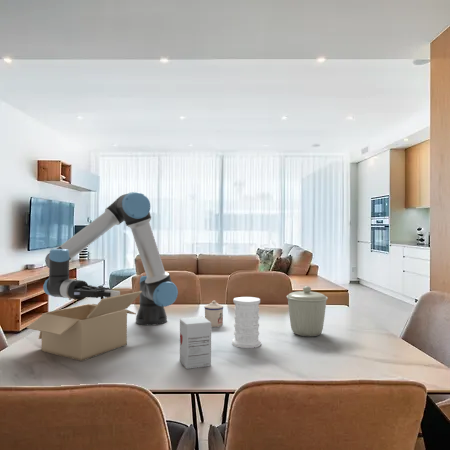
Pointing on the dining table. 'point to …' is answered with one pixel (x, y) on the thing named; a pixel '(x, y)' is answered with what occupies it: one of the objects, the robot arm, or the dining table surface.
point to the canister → (307, 312)
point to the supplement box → (195, 342)
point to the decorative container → (246, 322)
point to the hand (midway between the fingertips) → (118, 295)
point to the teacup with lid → (214, 314)
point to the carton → (81, 332)
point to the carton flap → (114, 304)
